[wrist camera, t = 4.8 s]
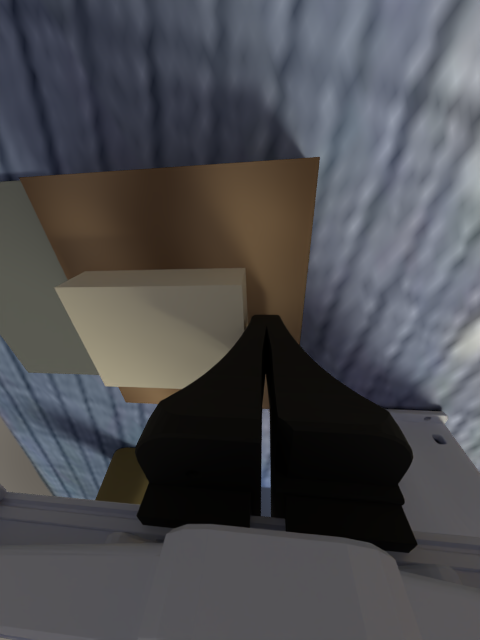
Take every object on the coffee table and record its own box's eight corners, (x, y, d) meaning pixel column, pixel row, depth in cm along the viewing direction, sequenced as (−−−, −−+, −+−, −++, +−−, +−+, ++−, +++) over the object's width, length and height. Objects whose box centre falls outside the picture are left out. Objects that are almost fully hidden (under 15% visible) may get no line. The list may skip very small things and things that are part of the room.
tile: (245, 267, 11) (241, 285, 9) (249, 364, 14) (247, 391, 12) (85, 271, 11) (54, 287, 10) (124, 361, 15) (105, 386, 13)
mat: (62, 178, 12) (56, 177, 12) (138, 372, 19) (136, 376, 19) (-98, 188, 13) (-107, 189, 13) (32, 369, 20) (28, 372, 20)
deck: (306, 161, 11) (319, 156, 8) (288, 377, 18) (292, 409, 15) (71, 177, 12) (18, 177, 9) (144, 372, 19) (125, 402, 17)
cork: (140, 443, 25) (68, 596, 16) (173, 469, 28) (127, 614, 19) (103, 452, 27) (20, 594, 18) (137, 476, 30) (79, 611, 21)
